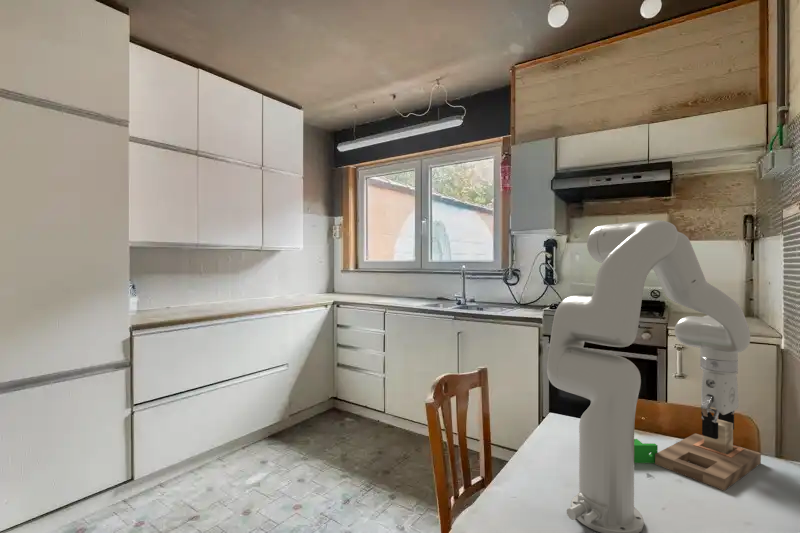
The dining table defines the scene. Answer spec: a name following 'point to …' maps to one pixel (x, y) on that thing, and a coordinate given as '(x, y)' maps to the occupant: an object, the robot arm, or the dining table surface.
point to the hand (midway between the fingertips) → (718, 432)
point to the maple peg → (721, 438)
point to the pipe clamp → (644, 452)
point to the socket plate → (708, 462)
